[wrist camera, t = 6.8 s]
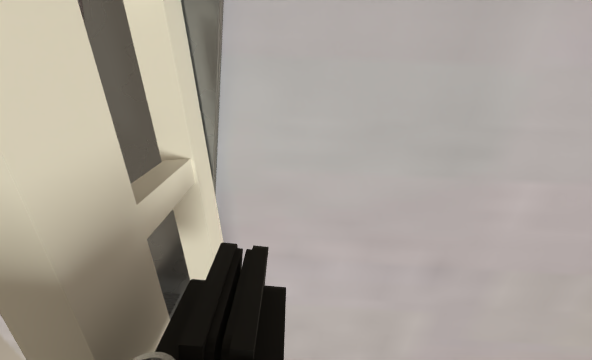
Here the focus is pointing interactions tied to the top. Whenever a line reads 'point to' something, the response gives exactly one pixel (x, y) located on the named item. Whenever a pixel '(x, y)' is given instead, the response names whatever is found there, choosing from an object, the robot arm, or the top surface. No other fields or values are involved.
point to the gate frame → (136, 116)
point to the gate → (94, 183)
